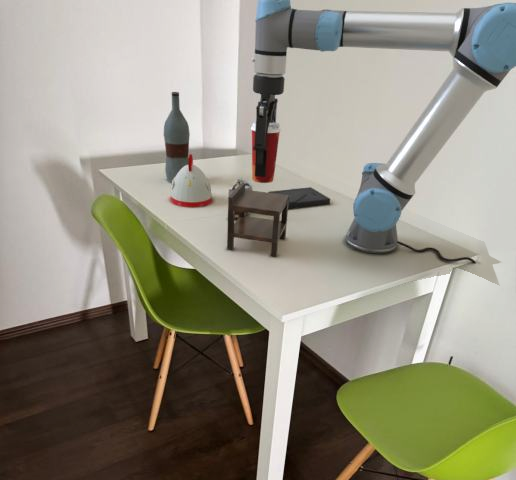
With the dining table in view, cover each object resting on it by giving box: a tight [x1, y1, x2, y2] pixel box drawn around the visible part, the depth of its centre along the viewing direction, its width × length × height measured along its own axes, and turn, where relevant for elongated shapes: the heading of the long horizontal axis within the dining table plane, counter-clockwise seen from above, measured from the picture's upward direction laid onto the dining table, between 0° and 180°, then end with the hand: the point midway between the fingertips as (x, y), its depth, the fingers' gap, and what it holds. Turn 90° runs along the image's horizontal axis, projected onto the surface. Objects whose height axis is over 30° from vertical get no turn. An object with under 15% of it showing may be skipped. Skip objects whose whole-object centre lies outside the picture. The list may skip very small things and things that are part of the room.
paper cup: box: [250, 121, 282, 184], centre depth 131 cm, size 8×8×14 cm
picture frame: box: [267, 186, 331, 210], centre depth 179 cm, size 13×2×18 cm
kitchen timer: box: [170, 153, 213, 208], centre depth 170 cm, size 14×14×15 cm
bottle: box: [163, 91, 191, 184], centre depth 183 cm, size 9×9×30 cm
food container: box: [227, 178, 253, 221], centre depth 161 cm, size 12×6×10 cm, turn 168°
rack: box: [226, 182, 289, 258], centre depth 142 cm, size 14×14×15 cm
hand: (263, 172), depth 134 cm, fingers closed on paper cup, 7 cm apart
